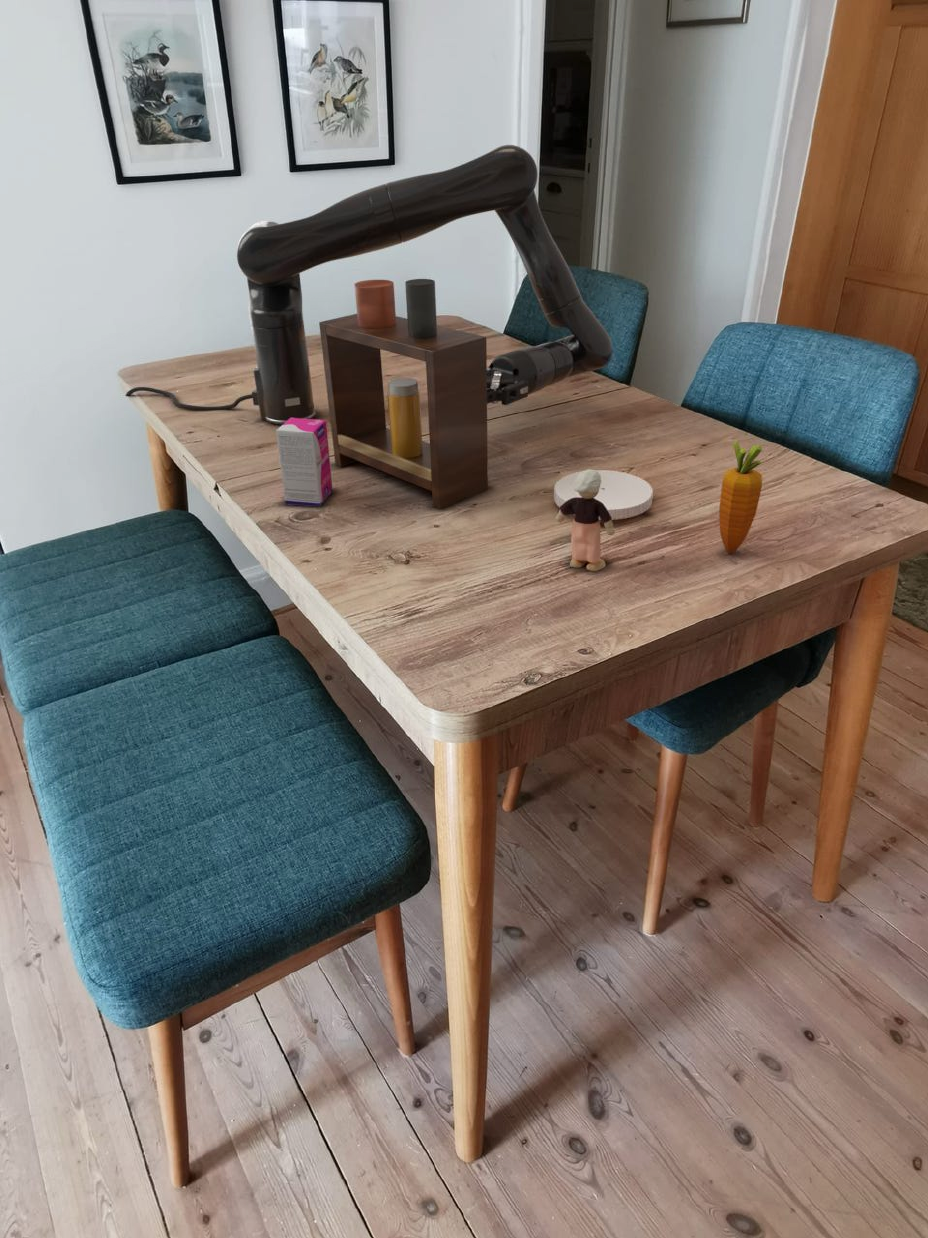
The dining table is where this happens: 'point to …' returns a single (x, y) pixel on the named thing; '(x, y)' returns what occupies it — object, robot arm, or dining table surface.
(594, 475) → the grandmother figurine
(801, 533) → the dining table surface
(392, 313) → the spice rack
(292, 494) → the supplement box
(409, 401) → the shaker
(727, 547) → the carrot
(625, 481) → the plastic lid
